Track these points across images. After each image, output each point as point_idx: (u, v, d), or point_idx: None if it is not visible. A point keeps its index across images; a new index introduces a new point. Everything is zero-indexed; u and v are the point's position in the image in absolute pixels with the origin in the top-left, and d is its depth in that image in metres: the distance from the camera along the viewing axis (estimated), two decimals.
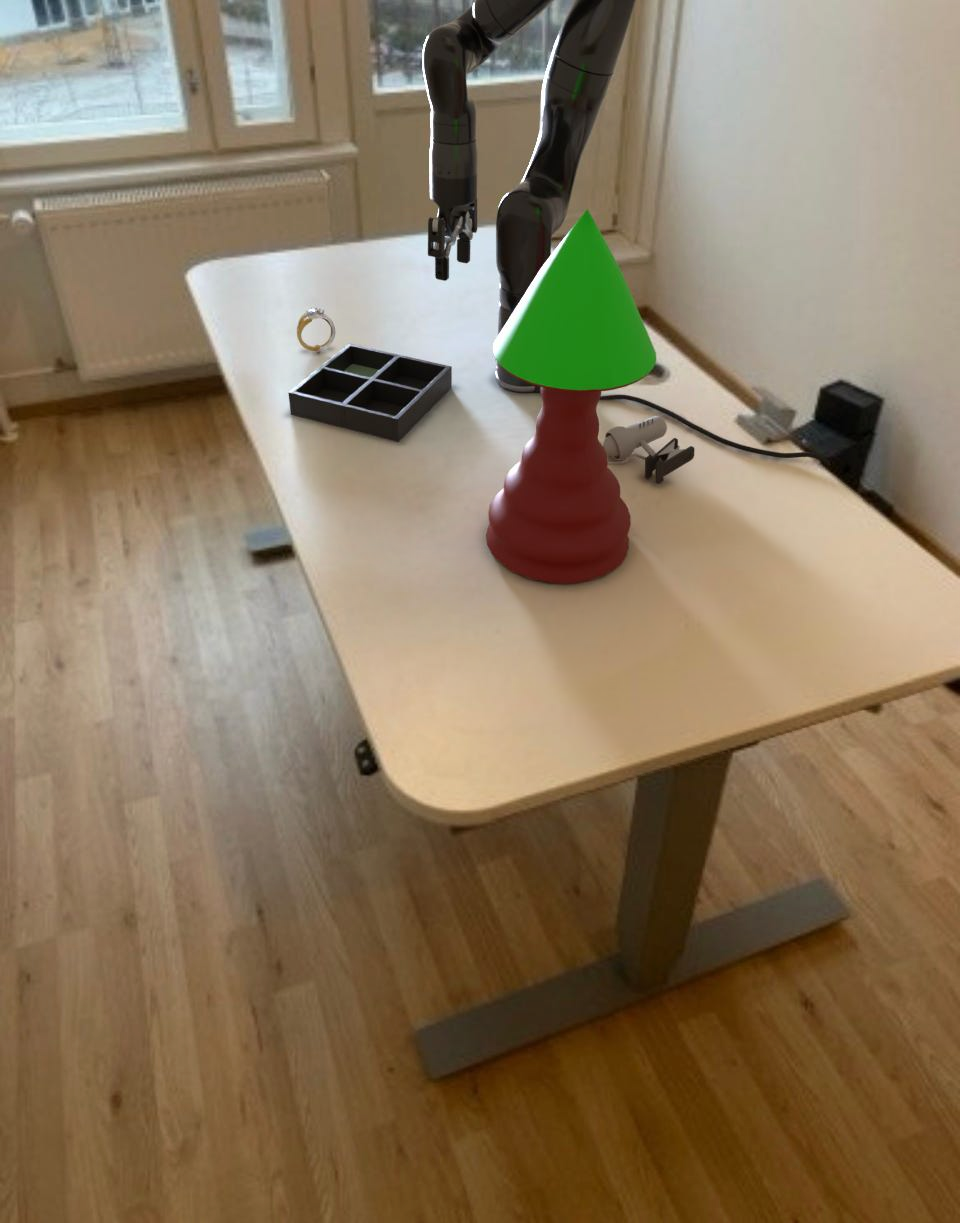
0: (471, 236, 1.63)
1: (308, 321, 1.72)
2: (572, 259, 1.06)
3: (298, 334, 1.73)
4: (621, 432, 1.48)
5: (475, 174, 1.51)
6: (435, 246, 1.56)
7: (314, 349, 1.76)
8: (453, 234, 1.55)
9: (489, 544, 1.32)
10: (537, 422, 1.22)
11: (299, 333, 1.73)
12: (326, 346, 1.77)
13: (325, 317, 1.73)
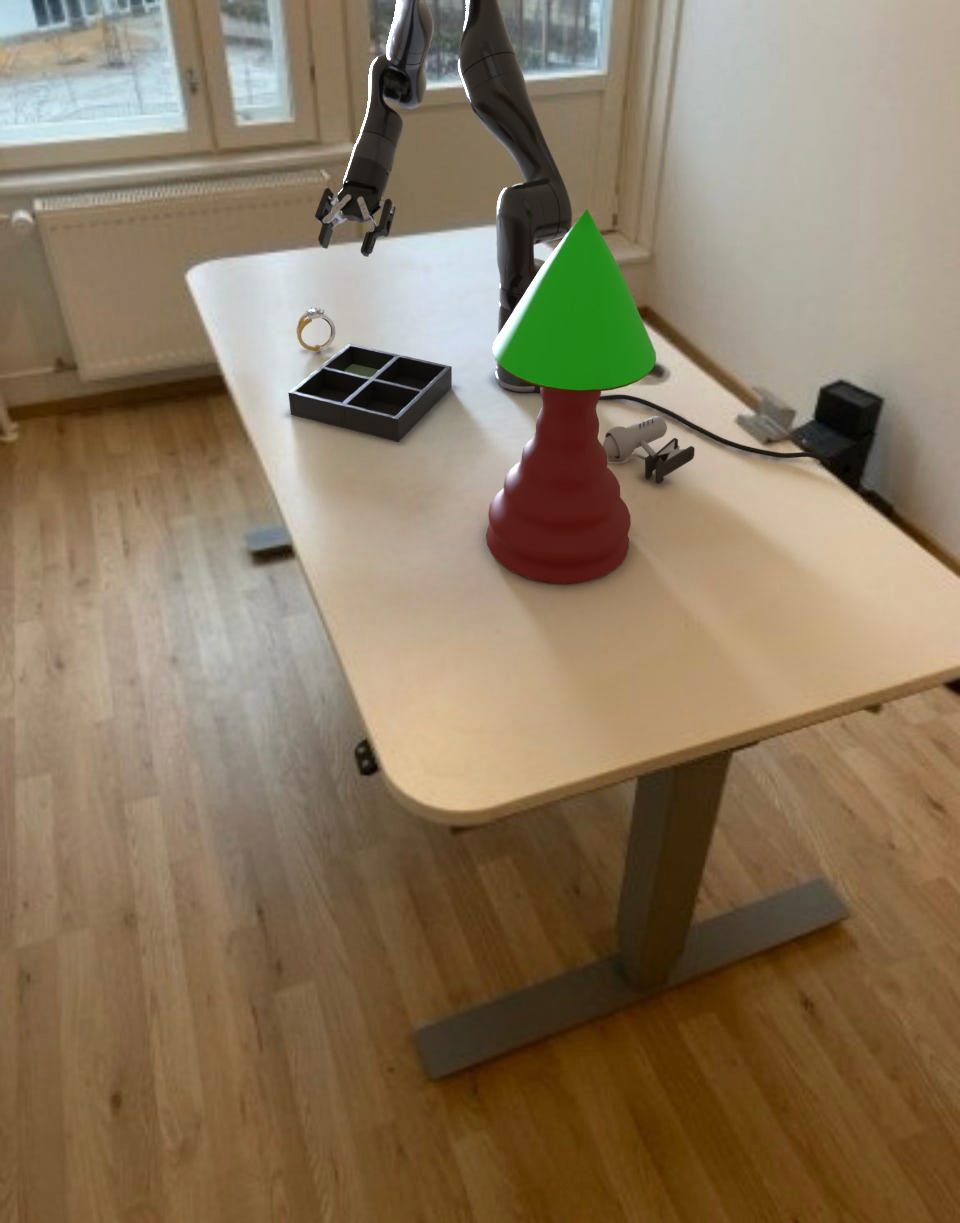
0: (370, 228, 1.73)
1: (308, 321, 1.72)
2: (572, 259, 1.06)
3: (298, 334, 1.73)
4: (621, 432, 1.48)
5: (362, 157, 1.72)
6: (332, 220, 1.78)
7: (314, 349, 1.76)
8: (336, 205, 1.75)
9: (489, 544, 1.32)
10: (537, 422, 1.22)
11: (299, 333, 1.73)
12: (326, 346, 1.77)
13: (325, 317, 1.73)
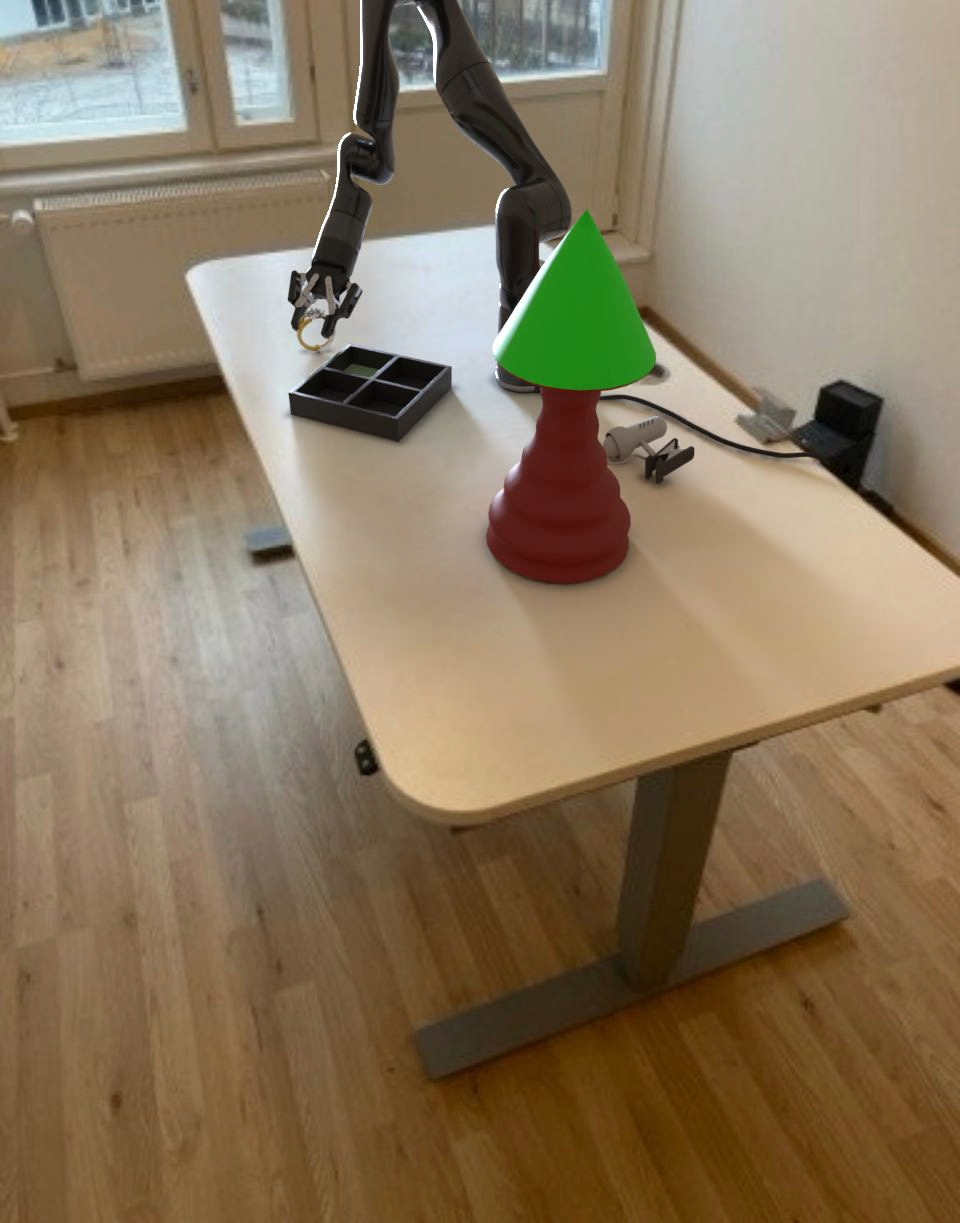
0: (330, 310, 1.71)
1: (308, 321, 1.72)
2: (572, 259, 1.06)
3: (298, 334, 1.73)
4: (621, 432, 1.48)
5: (330, 236, 1.70)
6: (303, 303, 1.75)
7: (314, 349, 1.76)
8: None
9: (489, 544, 1.32)
10: (537, 422, 1.22)
11: (299, 333, 1.73)
12: (326, 346, 1.77)
13: (325, 317, 1.73)
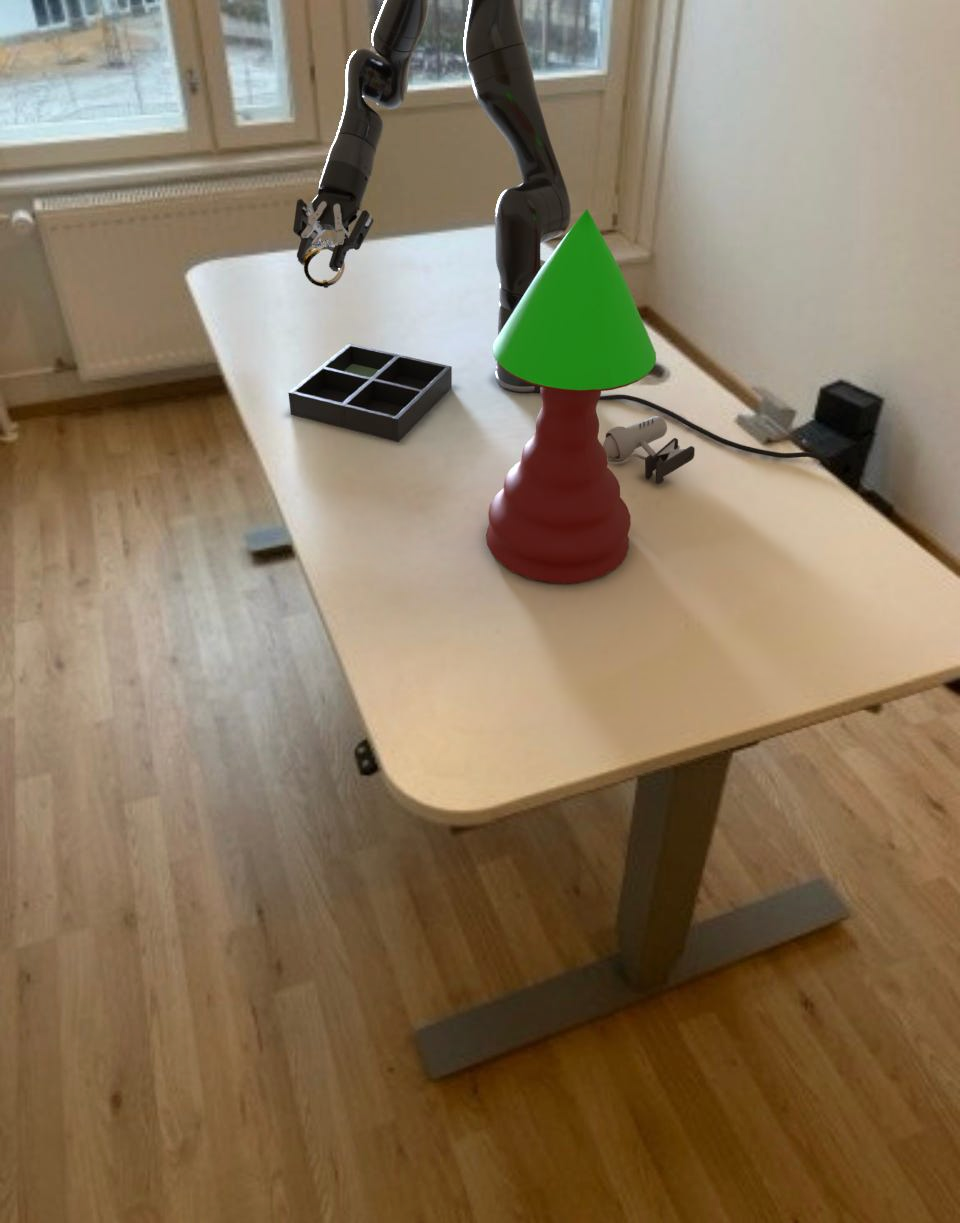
0: (339, 240, 1.59)
1: (315, 252, 1.60)
2: (572, 259, 1.06)
3: (305, 267, 1.62)
4: (621, 432, 1.48)
5: (338, 160, 1.58)
6: (310, 235, 1.64)
7: (322, 284, 1.65)
8: None
9: (489, 544, 1.32)
10: (537, 422, 1.22)
11: (306, 266, 1.61)
12: (334, 281, 1.65)
13: None
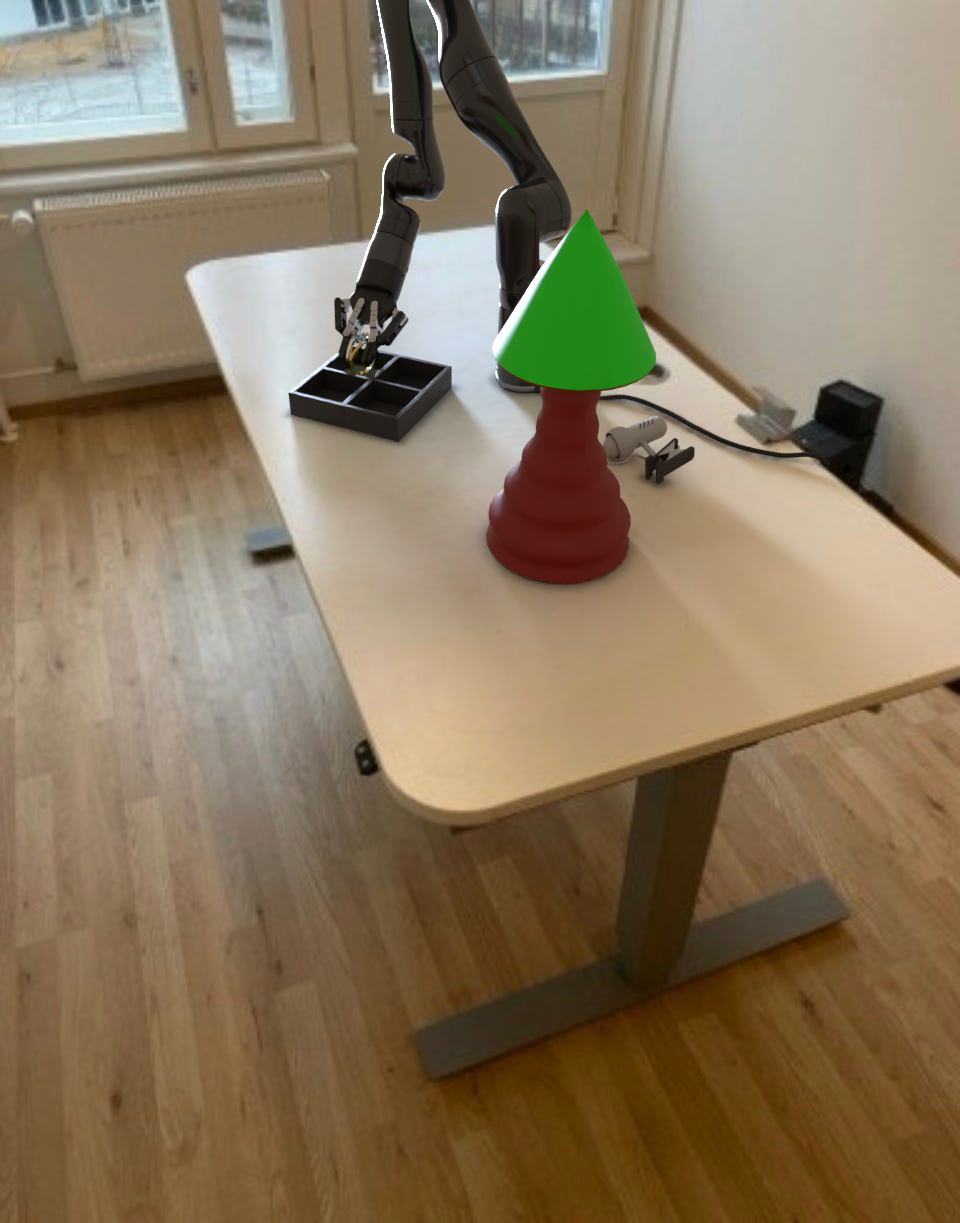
0: (371, 337, 1.62)
1: (360, 347, 1.63)
2: (572, 259, 1.06)
3: (351, 363, 1.63)
4: (621, 432, 1.48)
5: (377, 259, 1.61)
6: None
7: None
8: None
9: (489, 544, 1.32)
10: (537, 422, 1.22)
11: (352, 362, 1.63)
12: (370, 369, 1.68)
13: None
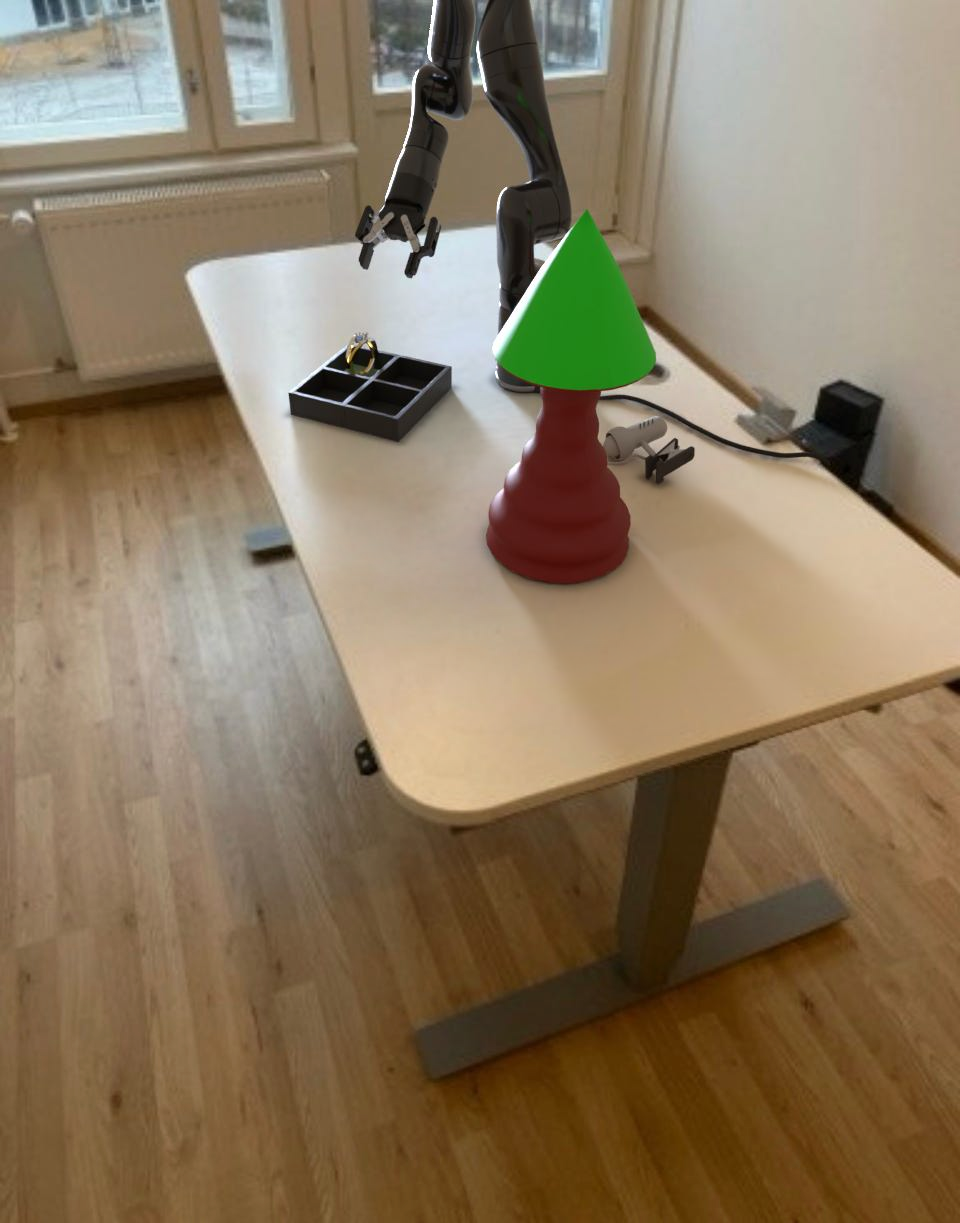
0: (414, 248, 1.62)
1: (360, 347, 1.63)
2: (572, 259, 1.06)
3: (351, 363, 1.63)
4: (621, 432, 1.48)
5: (406, 172, 1.62)
6: (372, 240, 1.67)
7: None
8: (378, 224, 1.65)
9: (489, 544, 1.32)
10: (537, 422, 1.22)
11: (352, 362, 1.63)
12: (370, 369, 1.68)
13: (371, 339, 1.64)
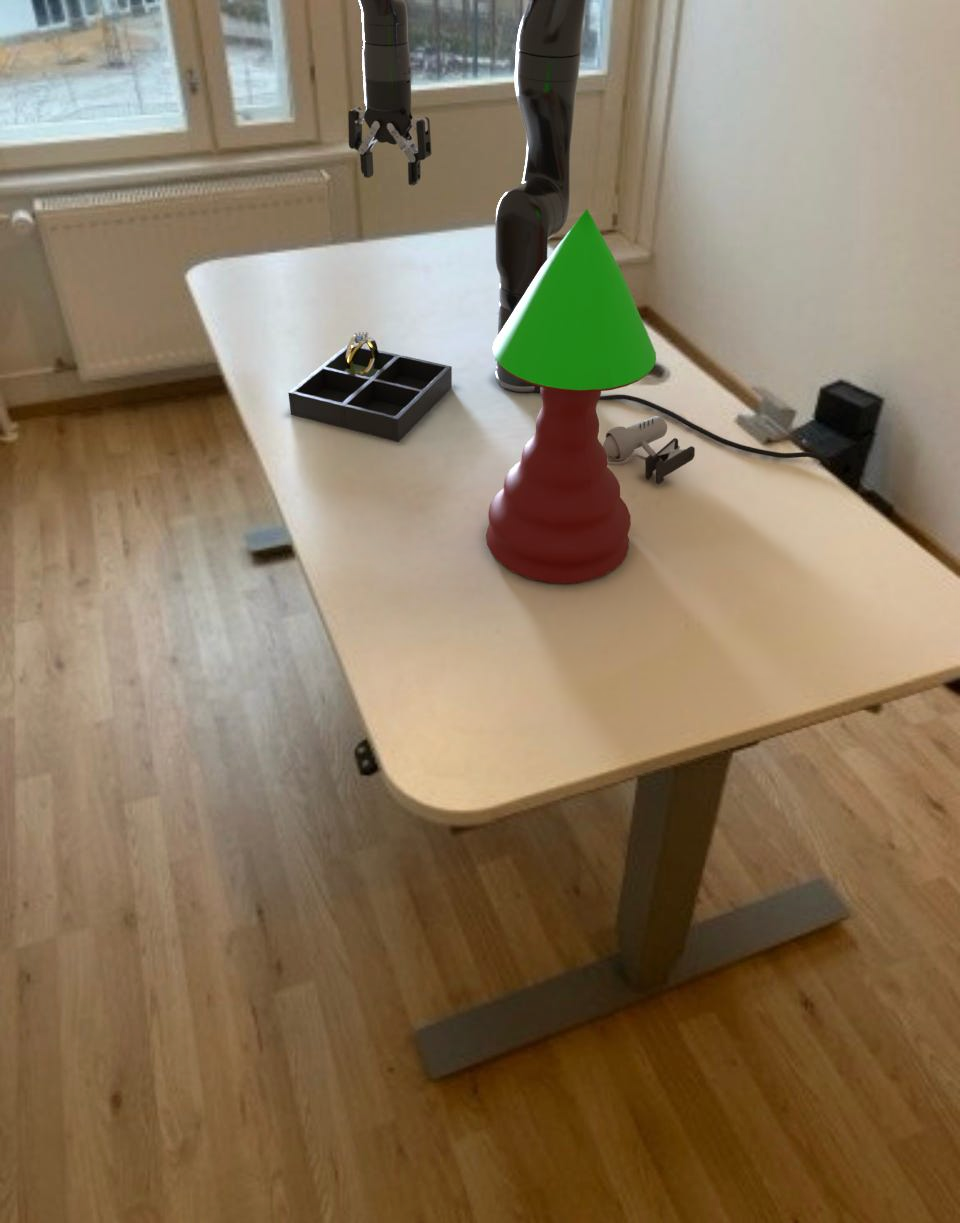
0: (410, 158, 1.59)
1: (360, 347, 1.63)
2: (572, 259, 1.06)
3: (351, 363, 1.63)
4: (621, 432, 1.48)
5: (376, 80, 1.51)
6: None
7: None
8: (367, 133, 1.59)
9: (489, 544, 1.32)
10: (537, 422, 1.22)
11: (352, 362, 1.63)
12: (370, 369, 1.68)
13: (371, 339, 1.64)
